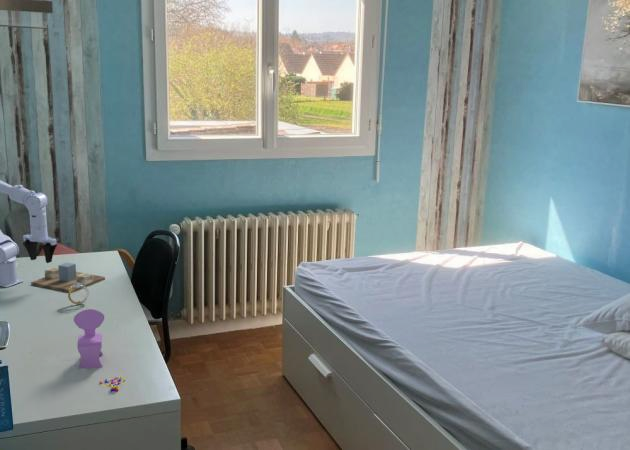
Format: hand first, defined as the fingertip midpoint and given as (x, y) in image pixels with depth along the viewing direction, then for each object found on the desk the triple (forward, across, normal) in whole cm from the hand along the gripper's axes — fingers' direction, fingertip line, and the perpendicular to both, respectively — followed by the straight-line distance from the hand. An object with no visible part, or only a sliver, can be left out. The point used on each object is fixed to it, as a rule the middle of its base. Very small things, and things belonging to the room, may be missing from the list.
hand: (41, 260), depth 250 cm
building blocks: (+10, +77, -51) cm, 93 cm away
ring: (+10, +26, -9) cm, 29 cm away
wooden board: (+10, +5, +8) cm, 14 cm away
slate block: (+9, +5, +8) cm, 13 cm away
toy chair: (+10, +62, -43) cm, 76 cm away
